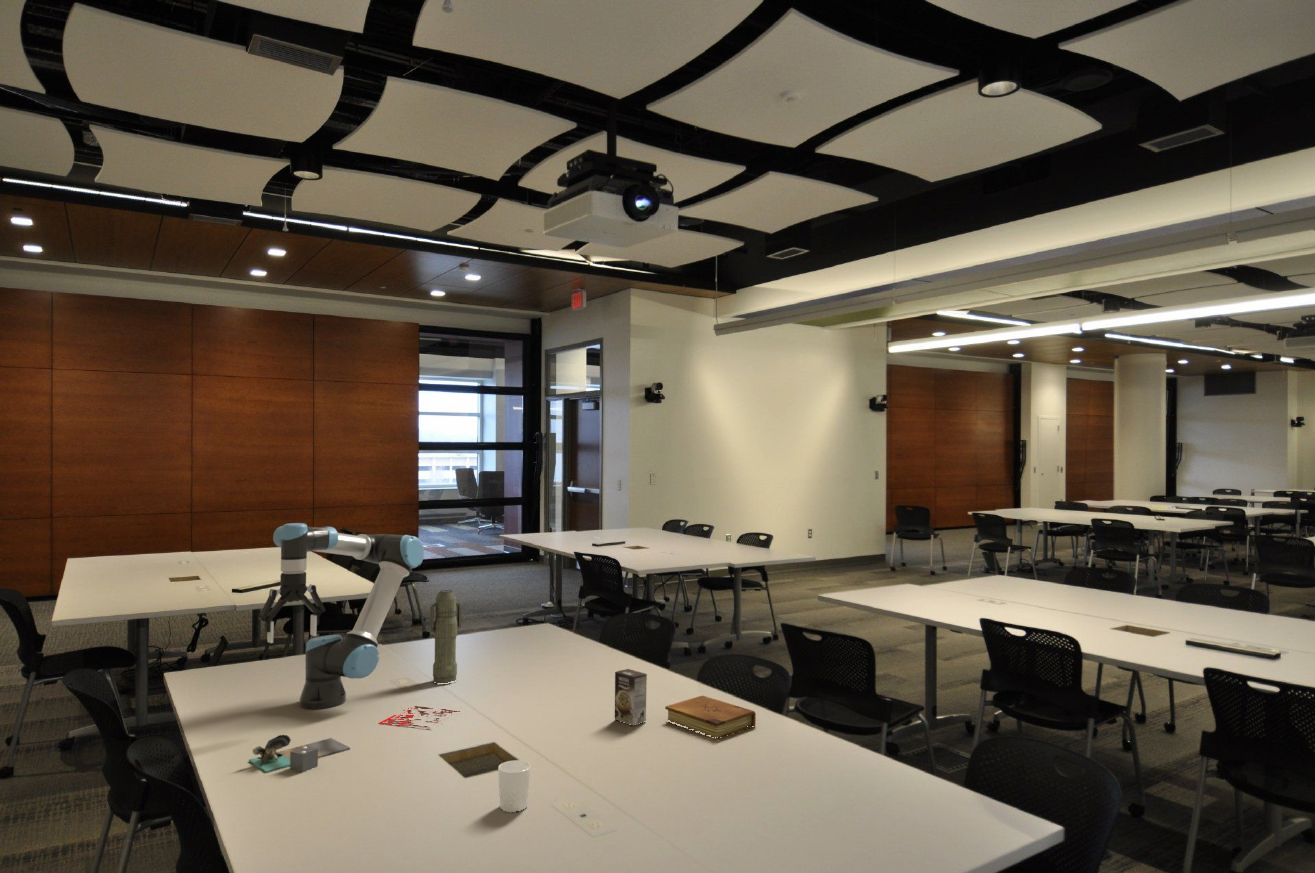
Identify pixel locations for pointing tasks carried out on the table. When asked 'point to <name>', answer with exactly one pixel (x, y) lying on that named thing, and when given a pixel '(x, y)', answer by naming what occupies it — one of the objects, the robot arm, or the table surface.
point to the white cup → (514, 785)
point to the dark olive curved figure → (272, 748)
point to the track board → (323, 747)
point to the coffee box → (630, 696)
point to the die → (303, 759)
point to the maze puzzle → (395, 719)
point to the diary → (711, 716)
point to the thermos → (445, 636)
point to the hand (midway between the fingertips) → (292, 638)
